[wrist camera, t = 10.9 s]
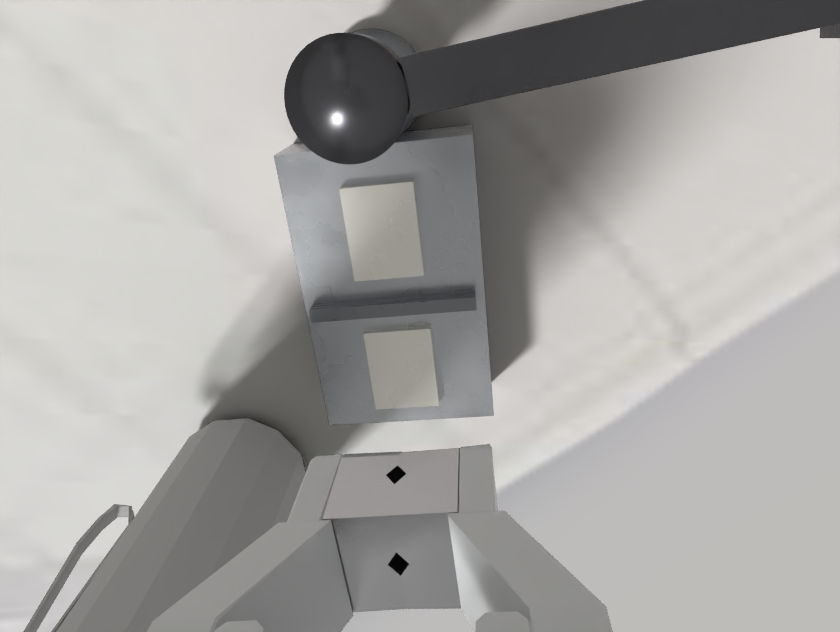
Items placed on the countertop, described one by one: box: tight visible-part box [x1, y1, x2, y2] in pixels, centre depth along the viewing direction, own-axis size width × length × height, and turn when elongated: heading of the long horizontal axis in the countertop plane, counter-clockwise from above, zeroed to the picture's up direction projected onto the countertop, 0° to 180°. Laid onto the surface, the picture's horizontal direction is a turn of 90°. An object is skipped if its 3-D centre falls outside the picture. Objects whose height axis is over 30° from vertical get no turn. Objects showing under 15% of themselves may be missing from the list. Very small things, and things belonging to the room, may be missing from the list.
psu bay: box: [274, 125, 494, 425], centre depth 28 cm, size 13×8×4 cm, turn 6°
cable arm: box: [284, 0, 840, 165], centre depth 19 cm, size 19×4×4 cm, turn 102°
